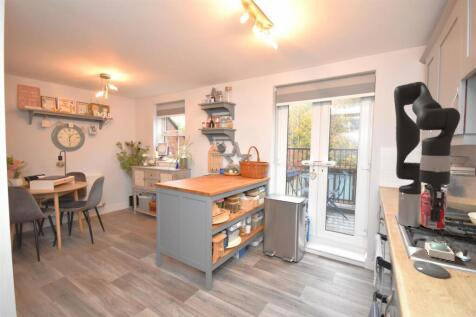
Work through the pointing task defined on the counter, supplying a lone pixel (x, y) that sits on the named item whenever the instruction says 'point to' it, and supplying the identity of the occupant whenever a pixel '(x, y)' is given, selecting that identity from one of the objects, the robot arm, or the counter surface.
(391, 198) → the counter surface
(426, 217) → the beverage can
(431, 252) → the base
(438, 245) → the dome
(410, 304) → the counter surface
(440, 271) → the coaster
